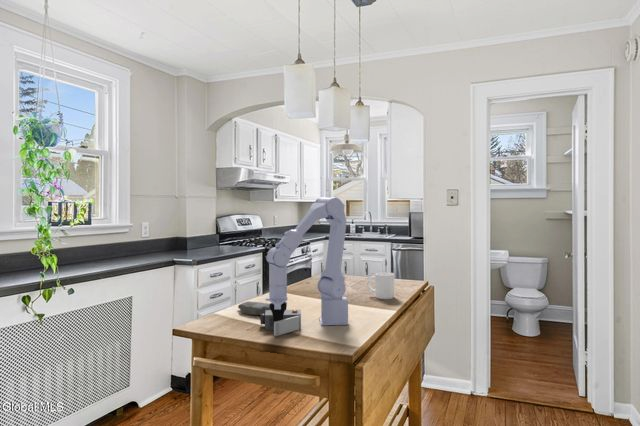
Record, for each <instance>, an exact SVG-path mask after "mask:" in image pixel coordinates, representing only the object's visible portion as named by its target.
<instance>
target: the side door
mask: <svg viewBox="0 0 640 426" xmlns="http://www.w3.org/2000/svg"><path fill="white" fill-rule="evenodd" d="M301 329H302V314H301V315H299V316H295V317H291V318H287V319H284V320H280V321H276V322H274V330H273V336H274V337H277V336H281V335H284V334H285V335H286V334H288V333H291V332H294V331H298V330H299V331H300V330H301Z"/></svg>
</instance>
